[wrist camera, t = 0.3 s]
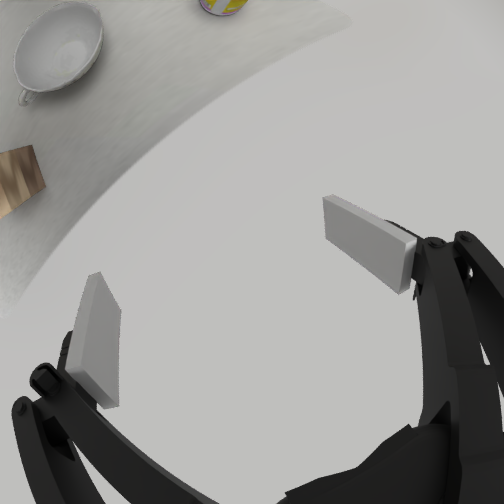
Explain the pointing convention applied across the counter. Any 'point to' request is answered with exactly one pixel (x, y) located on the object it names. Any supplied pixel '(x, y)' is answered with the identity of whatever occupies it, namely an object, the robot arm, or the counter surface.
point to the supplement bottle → (222, 6)
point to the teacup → (58, 48)
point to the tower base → (30, 169)
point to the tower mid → (11, 183)
